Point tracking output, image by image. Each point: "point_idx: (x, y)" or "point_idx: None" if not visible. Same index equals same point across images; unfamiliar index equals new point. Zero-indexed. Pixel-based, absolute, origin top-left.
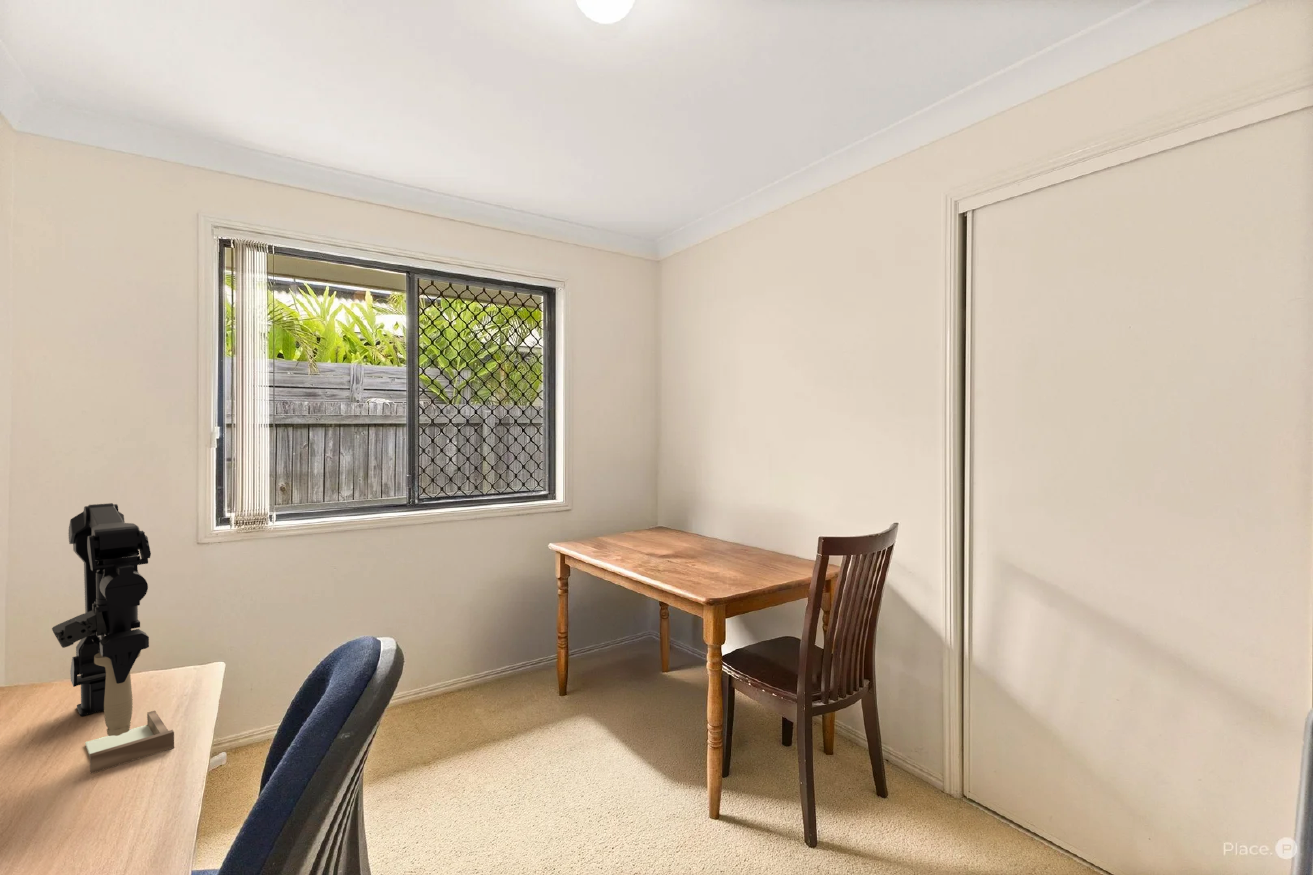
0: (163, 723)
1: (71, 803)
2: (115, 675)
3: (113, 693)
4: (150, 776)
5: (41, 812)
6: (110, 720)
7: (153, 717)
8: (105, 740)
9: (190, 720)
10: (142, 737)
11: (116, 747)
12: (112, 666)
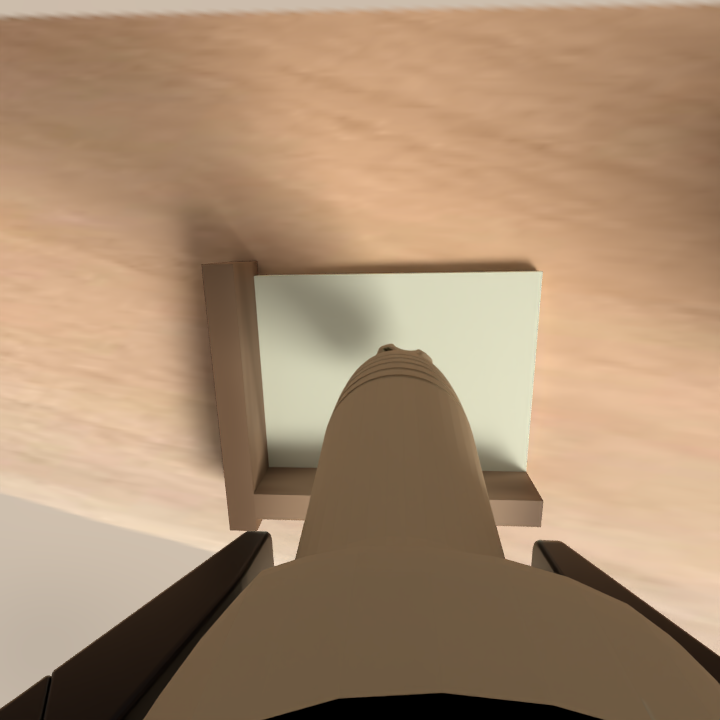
0: None
1: (31, 190)
2: (165, 591)
3: (321, 457)
4: (76, 402)
5: (22, 105)
6: (355, 372)
7: None
8: (488, 333)
9: None
10: None
11: (225, 353)
12: (2, 707)
